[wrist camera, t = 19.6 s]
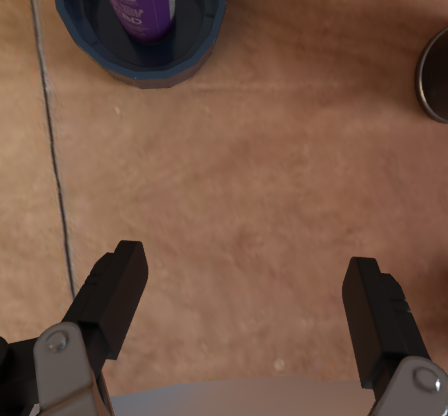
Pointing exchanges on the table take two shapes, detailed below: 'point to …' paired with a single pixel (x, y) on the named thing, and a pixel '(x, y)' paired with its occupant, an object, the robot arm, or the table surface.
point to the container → (146, 19)
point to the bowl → (138, 53)
